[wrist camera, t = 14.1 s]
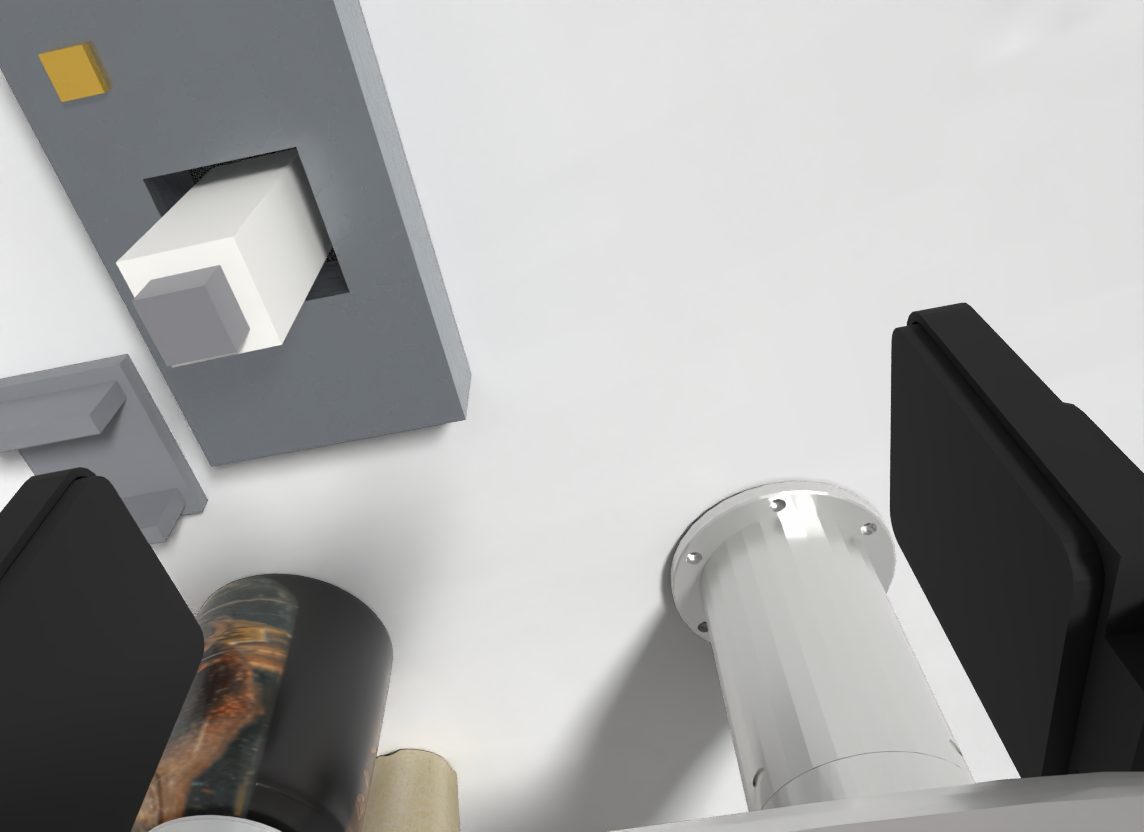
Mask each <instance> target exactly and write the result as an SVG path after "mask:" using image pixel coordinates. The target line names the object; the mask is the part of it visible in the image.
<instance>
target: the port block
mask: <svg viewBox="0 0 1144 832" xmlns="http://www.w3.org/2000/svg"><path fill="white" fill-rule="evenodd" d="M0 68H1V70H2V72H3V74H4V76H5V78H6V80H7V81H8V83H9V85H10V87H11V89H12V91H13V93H14V95H15V97H16V98H17V100H18V102H19V104H20V106H21V108H22V110H23V112H24V114H25V115H26V117H27V119H28V121H29V123H30V125H31V127H32V129H33V131H34V132H35V134H36V136H37V138H38V140H39V142H40V144H41V146H42V148H43V149H44V151H45V153H46V155H47V157H48V159H49V161H50V163H51V165H52V166H53V168H54V170H55V172H56V174H57V176H58V178H59V180H60V182H61V183H62V185H63V187H64V189H65V191H66V193H67V195H68V197H69V199H70V200H71V202H72V204H73V206H74V208H75V210H76V212H77V214H78V215H79V217H80V219H81V221H82V223H83V225H84V227H85V229H86V231H87V232H88V234H89V236H90V238H91V240H92V242H93V244H94V246H95V248H96V249H97V251H98V253H99V255H100V257H101V259H102V261H103V263H104V265H105V266H106V268H107V270H108V272H109V274H110V276H111V278H112V280H113V282H114V283H115V285H116V287H117V289H118V291H119V293H120V295H121V297H122V299H123V300H124V302H125V304H126V306H127V308H128V310H129V312H130V314H131V316H132V317H133V319H134V321H135V323H136V325H137V327H138V329H139V331H140V333H141V334H142V336H143V338H144V340H145V342H146V344H147V346H148V348H149V350H150V351H151V353H152V355H153V357H154V359H155V361H156V363H157V365H158V367H159V368H160V370H161V372H162V374H163V376H164V378H165V380H166V382H167V383H168V385H169V387H170V389H171V391H172V393H173V395H174V397H175V399H176V400H177V402H178V404H179V406H180V408H181V410H182V412H183V414H184V416H185V417H186V419H187V421H188V423H189V425H190V427H191V429H192V431H193V433H194V434H195V436H196V438H197V440H198V442H199V444H200V446H201V448H202V450H203V451H204V453H205V455H206V457H207V459H208V461H209V463H210V465H211V466H217V465H222V464H228V463H233V462H239V461H244V460H249V459H255V458H260V457H266V456H271V455H277V454H282V453H288V452H293V451H298V450H304V449H309V448H315V447H320V446H326V445H331V444H337V443H342V442H347V441H353V440H358V439H364V438H369V437H375V436H380V435H386V434H391V433H396V432H402V431H407V430H413V429H418V428H424V427H429V426H435V425H440V424H445V423H451V422H456V421H462V420H466V414H467V406H468V398H469V390H470V382H471V372H470V368H469V365H468V362H467V358H466V355H465V352H464V348H463V345H462V342H461V338H460V335H459V332H458V328H457V325H456V322H455V318H454V315H453V312H452V309H451V305H450V302H449V299H448V295H447V292H446V289H445V285H444V282H443V279H442V275H441V272H440V269H439V265H438V262H437V259H436V255H435V252H434V249H433V245H432V242H431V239H430V235H429V232H428V229H427V225H426V222H425V219H424V215H423V212H422V209H421V205H420V202H419V199H418V195H417V192H416V189H415V185H414V182H413V179H412V176H411V172H410V169H409V166H408V162H407V159H406V156H405V152H404V149H403V146H402V142H401V139H400V136H399V132H398V129H397V126H396V122H395V119H394V116H393V112H392V109H391V106H390V102H389V99H388V96H387V92H386V89H385V86H384V82H383V79H382V76H381V72H380V69H379V66H378V62H377V59H376V56H375V53H374V49H373V46H372V43H371V39H370V36H369V33H368V29H367V26H366V23H365V19H364V16H363V13H362V9H361V6H360V3H359V0H0ZM293 147H296V148H297V150H298V153H299V156H300V159H301V161H302V164H303V167H304V169H305V172H306V175H307V178H308V180H309V183H310V186H311V188H312V191H313V194H314V197H315V199H316V202H317V205H318V207H319V210H320V213H321V216H322V218H323V221H324V224H325V226H326V229H327V232H328V235H329V237H330V240H331V243H332V245H333V248H334V251H335V254H336V256H337V259H338V260H334V261H329V262H324V264H323V266H322V268H321V270H320V271H319V273H318V275H317V277H316V279H315V281H314V283H313V285H312V287H311V289H310V291H309V293H308V295H307V297H306V299H305V301H304V303H303V305H302V306H301V308H300V310H299V312H298V314H297V316H296V318H295V320H294V322H293V324H292V326H291V328H290V330H289V332H288V334H287V336H286V338H285V340H284V342H283V343H282V345H278V346H273V347H269V348H264V349H259V350H254V351H250V352H245V353H240V354H235V355H230V356H226V357H221V358H216V359H211V360H206V361H202V362H197V363H192V364H187V365H182V366H178V367H173V368H172V366H166V364H165V362H164V360H163V358H162V356H161V355H160V353H159V351H158V349H157V347H156V345H155V344H154V342H153V340H152V338H151V336H150V334H149V332H148V331H147V329H146V327H145V325H144V323H143V321H142V320H141V318H140V316H139V314H138V312H137V310H136V309H135V307H134V305H133V303H132V300H133V299H134V298H135V297H134V296H133V294H132V292H131V290H130V288H129V286H128V284H127V283H126V281H125V279H124V277H123V275H122V273H121V271H120V270H119V268H118V266H117V264H116V262H117V261H118V260H119V259H120V258H121V257H122V256H123V255H124V254H125V253H126V252H127V251H128V250H129V249H130V248H131V247H132V246H133V245H134V244H135V243H136V242H137V241H138V240H139V239H140V238H141V237H142V236H143V235H144V234H145V233H146V232H147V231H149V230H150V229H151V228H152V227H153V226H154V225H155V224H156V223H157V222H158V221H159V220H160V219H161V218H162V217H163V216H164V215H165V214H166V213H167V212H168V211H169V210H170V209H171V208H172V207H173V206H174V205H175V204H176V203H177V202H178V201H179V200H180V199H181V198H182V197H183V196H184V195H185V194H186V193H187V192H188V191H189V190H190V189H191V188H192V187H193V186H194V185H195V182H194V180H193V178H192V175H191V173H190V171H189V169H194V168H198V167H203V166H208V165H213V164H217V163H222V162H227V161H231V160H236V159H241V158H246V157H250V156H255V155H260V154H265V153H269V152H274V151H279V150H283V149H288V148H293Z"/></svg>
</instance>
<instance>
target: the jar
mask: <svg viewBox="0 0 1144 832" xmlns="http://www.w3.org/2000/svg"><path fill="white" fill-rule="evenodd" d="M196 621H197V622H198V624H199V625H200V627H201V630H202V632H203V636H204V645H205V646H204V654H203V658H202V661H201V663H200V665H199V668H198V670H197V673H196V675H195V677H194V680H193V682H192V685H191V687H190V690H189V692H188V694H187V697H186V699H185V702H184V704H183V707H182V709H181V711H180V714H179V716H178V719H177V721H176V723H175V726H174V728H173V731H172V733H171V736H170V738H169V740H168V743H167V745H166V748H165V750H164V752H163V755H162V757H161V760H160V762H159V765H158V767H157V769H156V772H155V774H154V777H153V779H152V781H151V784H150V786H149V789H148V791H147V794H146V796H145V798H144V801H143V803H142V806H141V808H140V811H139V813H138V815H137V818H136V820H135V823H134V825H133V827H132V830H131V832H361V831H362V827H363V823H364V818H365V813H366V808H367V803H368V798H369V793H370V788H371V782H372V777H373V772H374V766H375V761H376V756H377V750H378V745H379V739H380V733H381V728H382V722H383V717H384V711H385V705H386V699H387V693H388V688H389V681H390V675H391V669H392V660H393V651H392V644H391V640H390V637H389V635H388V632H387V630H386V628H385V627H384V625H383V624H382V622H381V621H380V619H379V618H378V617H377V616H376V614H375V613H374V612H373V611H372V610H371V609H370V608H369V607H368V606H366V605H365V604H364V603H363V602H361V601H360V600H359V599H357V598H356V597H354V596H353V595H351V594H350V593H348V592H346V591H344V590H342V589H340V588H338V587H336V586H334V585H331V584H329V583H326V582H323V581H320V580H316V579H313V578H309V577H304V576H298V575H289V574H264V575H256V576H251V577H246V578H243V579H239V580H237V581H234V582H232V583H230V584H227V585H225V586H224V587H222V588H220V589H219V590H218V591H216V592H215V593H214V594H212V595H211V596H210V597H209V598H208V600H207V601H206V602H205V603H204V605H203V606H202V608H201V609H200V611H199V613H198V615H197V617H196Z"/></svg>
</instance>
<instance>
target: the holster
mask: <svg viewBox="0 0 1144 832" xmlns="http://www.w3.org/2000/svg"><path fill="white" fill-rule="evenodd" d="M16 449H18V451H19V452H20V454H21V455H22V457H23V458H24V460H25V461H26V463H27V464H28V466H29V467H30V469H31V470H32V472H33V473H34V475H35V476H36V475H40V474H45V473H51V472H56V471H62V470H67V469H72V468H78V467H83V468H88V469H89V470H91V471H92V472H94V473H95V474H96V476H102V477H105V478H106V479H108V480H109V481H110V482H111V484H112V485H113V486H114V488H115V489H116V491H117V493H118V494H119V496H120V498H121V499H122V501H123V502H124V504H125V506H126V507H127V509H128V510H129V512H130V514H131V515H132V517H133V519H134V520H135V522H136V523H137V525H138V527H139V528H140V530H141V532H142V533H143V535H144V536H145V538H146V540H147V541H148V543H149V544H155V543H161V542H165V541H166V540H167V538H168V536H169V534H170V532H171V530H172V528H173V527H174V525H175V523H176V521H177V519H178V517H179V516H183V515H188V514H194V513H200V512H202V511H203V509H204V507H205V505H206V503H207V501H208V499H207V498H206V496H205V494H204V492H203V490H202V488H201V487H200V485H199V483H198V481H197V479H196V477H195V476H194V474H193V472H192V470H191V468H190V467H189V465H188V463H187V461H186V459H185V457H184V456H183V454H182V452H181V450H180V448H179V446H178V445H177V443H176V441H175V439H174V437H173V435H172V434H171V432H170V430H169V428H168V426H167V424H166V423H165V421H164V419H163V417H162V415H161V414H160V412H159V410H158V408H157V406H156V404H155V403H154V401H153V399H152V397H151V395H150V393H149V392H148V390H147V388H146V386H145V384H144V382H143V381H142V379H141V377H140V375H139V373H138V371H137V370H136V368H135V366H134V364H133V362H132V361H131V359H130V357H129V355H128V354H125V355H120V356H115V357H110V358H105V359H100V360H95V361H90V362H84V363H79V364H74V365H69V366H64V367H59V368H54V369H49V370H44V371H38V372H33V373H28V374H23V375H18V376H13V377H8V378H3V379H0V452H5V451H10V450H16Z"/></svg>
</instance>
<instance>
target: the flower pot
mask: <svg viewBox="0 0 1144 832" xmlns="http://www.w3.org/2000/svg"><path fill="white" fill-rule="evenodd" d="M361 832H460V821H459V805H458V785H457V774H456V772H455V771H453V769H452V768H451V767H450V765H449V764H448V763H447V761H446V760H445V759H444V758H442V757H440V756H438V755H436V754H433V753H431V752H427V751H421V750H412V749H404V750H399V751H398V752H396V753H394V754H392V755H389V756H380V757H378V758H377V759H376V761H375V766H374V772H373V777H372V782H371V788H370V793H369V798H368V803H367V808H366V813H365V818H364V823H363V827H362V831H361Z"/></svg>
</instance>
